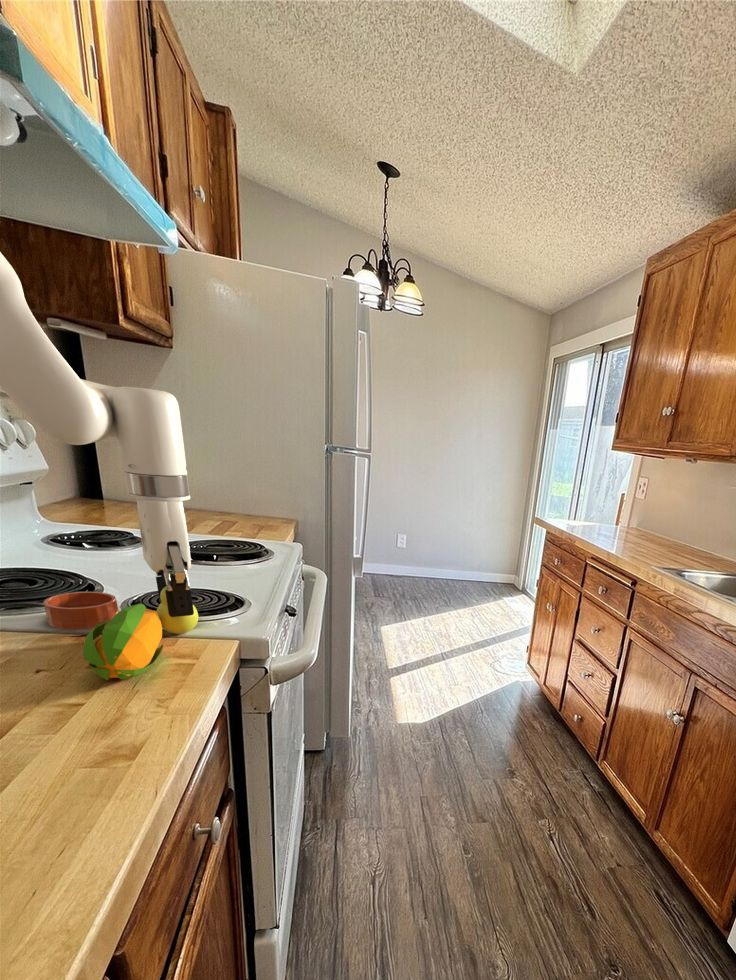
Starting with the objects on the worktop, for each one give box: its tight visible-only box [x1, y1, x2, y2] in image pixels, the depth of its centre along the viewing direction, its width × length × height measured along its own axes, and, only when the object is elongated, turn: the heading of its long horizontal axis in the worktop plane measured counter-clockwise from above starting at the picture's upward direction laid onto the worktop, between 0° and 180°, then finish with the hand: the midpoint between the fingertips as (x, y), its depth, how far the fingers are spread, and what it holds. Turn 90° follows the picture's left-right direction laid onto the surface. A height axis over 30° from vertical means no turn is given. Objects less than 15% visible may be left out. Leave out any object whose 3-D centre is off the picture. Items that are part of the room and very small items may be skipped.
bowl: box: [43, 591, 120, 638], centre depth 83 cm, size 9×9×4 cm
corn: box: [82, 603, 164, 681], centre depth 74 cm, size 7×8×20 cm
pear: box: [155, 577, 199, 635], centre depth 85 cm, size 6×6×9 cm
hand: (176, 607), depth 85 cm, fingers open, 6 cm apart
